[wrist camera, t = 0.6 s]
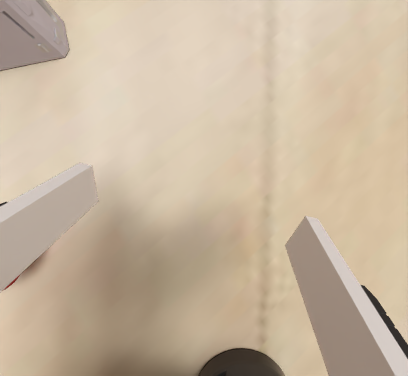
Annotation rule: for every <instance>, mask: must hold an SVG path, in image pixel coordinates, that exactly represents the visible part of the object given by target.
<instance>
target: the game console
mask: <svg viewBox="0 0 408 376" xmlns="http://www.w3.org/2000/svg"><path fill="white" fill-rule="evenodd" d="M68 51H69V46H68V41H67V36H66V31H65V26H64V21H63V20H62V19H61V18H60V17H59V16H58V14H57V13H56V12H55V11H54V10H53V8H52V7H51V6H50V5H49V4H48V3H47V1H46V0H0V70H5V69H10V68H15V67H19V66H24V65H29V64H34V63H39V62H44V61H48V60H53V59H58V58H64V57H65V56H66V54H67V53H68Z"/></svg>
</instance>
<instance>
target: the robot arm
mask: <svg viewBox="0 0 408 376" xmlns="http://www.w3.org/2000/svg"><path fill="white" fill-rule="evenodd" d="M97 202H98V195H97V189H96V184H95V178H94V172H93V167H92V165H88V164H84V163H78V164H76V165H75V166H73V167H71V168H69V169H67V170H66V171H64V172H62V173H60V174H58V175H57V176H55V177H53V178H51V179H49V180H47V181H46V182H44V183H42V184H40V185H38V186H37V187H35V188H33V189H31V190H29V191H28V192H26V193H24V194H22V195H20V196H19V197H17V198H15V199H13V200H11V201H9V202H5V203H2V204H0V292H1V291H3V290H4V289H5V288H6V287H7V286H8V285H9V284H10V283H11V282H12V281H13V280H14V279H15V278H17V277H18V276H19V275H20V274H21V273H22V272H23V271H24V270H25V269H26V268H27V267H28V266H29V265H31V264H32V263H33V262H34V261H35V260H36V259H37V258H38V257H39V256H40V255H41V254H42V253H43V252H45V251H46V250H47V249H48V248H49V247H50V246H51V245H52V244H53V243H54V242H55V241H56V240H57V239H59V238H60V237H61V236H62V235H63V234H64V233H65V232H66V231H67V230H68V229H69V228H70V227H71V226H73V225H74V224H75V223H76V222H77V221H78V220H79V219H80V218H81V217H82V216H83V215H84V214H85V213H87V212H88V211H89V210H90V209H91V208H92V207H93V206H94V205H95V204H96V203H97ZM285 247H286V250H287V253H288V256H289V259H290V262H291V265H292V268H293V271H294V274H295V277H296V280H297V282H298V285H299V288H300V291H301V294H302V297H303V300H304V303H305V306H306V309H307V312H308V315H309V318H310V321H311V324H312V327H313V330H314V333H315V336H316V339H317V342H318V345H319V348H320V351H321V354H322V357H323V360H324V363H325V366H326V368H327V371H328V374H329V376H408V345H407V343H406V342H405V340H404V339H403V337H402V336H401V334H400V333H399V331H398V330H397V329H395V327H394V326H395V325H394V324H393V322H392V321H391V319H390V318H389V316H387V315H386V312H385V310H384V309H383V307H382V306H381V304H380V303H379V302H378V300H377V299H376V298H375V297H374V296H373V294H372V293H371V292H370V291H369V290H368V289H367V288H366V287H365V286H363V285H360V284H359V282H358V281H357V279H356V278H355V276H354V274H353V273H352V271H351V270H350V268H349V267H348V265H347V263H346V262H345V260H344V259H343V257H342V256H341V254H340V253H339V251H338V249H337V248H336V246H335V245H334V243H333V242H332V240H331V238H330V237H329V235H328V234H327V232H326V231H325V229H324V227H323V226H322V224H321V223H320V221H319V220H318V219H316V218H312V217H308V216H305V217H304V219H303V220H302V222H301V223H300V225H299V226H298V227H297V229H296V230H295V232H294V233H293V235H292V236H291V237H290V239H289V240H288V242H287V243H286V245H285ZM199 376H285V375H284V373H283V371H282V370H281V369H280V367H279V366H278V365H277V364H276V363H275V362H274V361H273V360H272V359H270V358H269V357H267V356H266V355H264V354H262V353H260V352H257V351H253V350H248V349H236V350H230V351H227V352H224V353H222V354H220V355H218V356H216V357H215V358H213V359H212V360H211V361H210V362H208V363H207V365H206V366H205V367H204V368H203V369H202V371H201V373H200V374H199Z"/></svg>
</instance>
